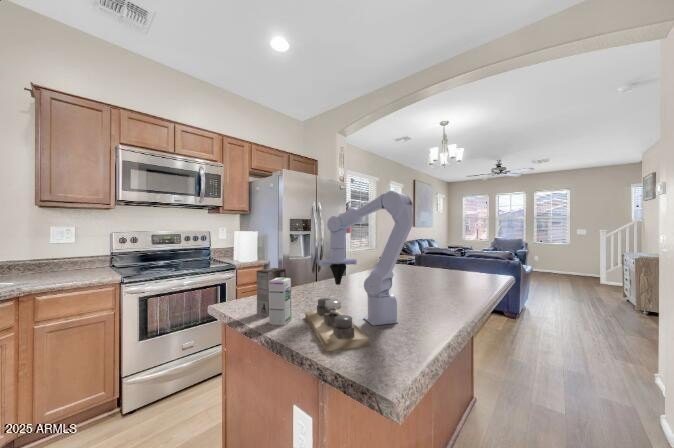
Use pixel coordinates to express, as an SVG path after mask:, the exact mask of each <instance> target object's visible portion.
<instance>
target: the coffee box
mask: <svg viewBox="0 0 674 448" xmlns="http://www.w3.org/2000/svg"><path fill="white" fill-rule="evenodd" d="M275 278H287V277H286V268H279V267H272V268H271V267H270V268H266V269H260V270H256V314H257V315H260V316H264V317H268V318H269V281H270V280H273V279H275Z"/></svg>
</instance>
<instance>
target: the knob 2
mask: <svg viewBox="0 0 674 448" xmlns="http://www.w3.org/2000/svg"><path fill="white" fill-rule="evenodd" d="M352 322H353V317H352V316H351V315H347V314H344V315H339V316H336V317H335V326H336V327H338V328H350V327H352Z"/></svg>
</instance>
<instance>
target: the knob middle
mask: <svg viewBox="0 0 674 448" xmlns="http://www.w3.org/2000/svg"><path fill="white" fill-rule="evenodd" d="M328 299H329V300H326V301H325V308H326V309H329V310H330V316H332V317H333V316H336V310H337V309H338V310H340V309H342V300H341V299H337V298H334V299H333V298H328Z"/></svg>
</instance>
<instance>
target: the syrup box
mask: <svg viewBox="0 0 674 448" xmlns="http://www.w3.org/2000/svg"><path fill="white" fill-rule="evenodd" d="M291 279H292V278H291V277H286V278H275V279H273V280H270V281H269V317H268V324H269V325H273V326H286V325H288V323H289V322H291V320H292V285H291V284H292V280H291Z"/></svg>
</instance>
